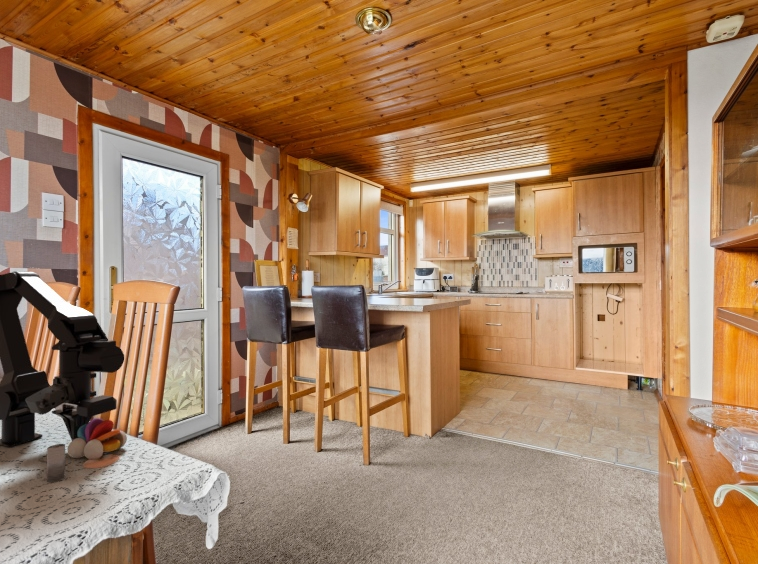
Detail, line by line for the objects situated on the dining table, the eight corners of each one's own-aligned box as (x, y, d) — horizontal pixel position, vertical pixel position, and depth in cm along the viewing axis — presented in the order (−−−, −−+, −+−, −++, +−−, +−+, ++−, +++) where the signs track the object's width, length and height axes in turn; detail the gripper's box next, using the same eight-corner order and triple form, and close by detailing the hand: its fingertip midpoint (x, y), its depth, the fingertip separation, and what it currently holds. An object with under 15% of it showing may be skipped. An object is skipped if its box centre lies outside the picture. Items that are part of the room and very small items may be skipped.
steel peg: (43, 481, 73) (43, 448, 73) (59, 474, 76) (59, 443, 76) (52, 483, 72) (52, 450, 72) (68, 476, 75) (68, 445, 75)
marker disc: (76, 465, 79) (76, 464, 79) (106, 453, 85) (106, 452, 85) (96, 470, 77) (96, 469, 77) (125, 457, 83) (125, 457, 83)
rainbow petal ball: (99, 463, 80) (99, 427, 80) (59, 459, 82) (59, 424, 82) (133, 446, 88) (133, 414, 88) (96, 443, 90) (96, 411, 90)
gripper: (5, 374, 83) (5, 448, 83) (62, 382, 77) (62, 463, 77) (64, 364, 94) (64, 430, 94) (118, 370, 87) (118, 441, 87)
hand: (75, 440), depth 88 cm, fingers closed
